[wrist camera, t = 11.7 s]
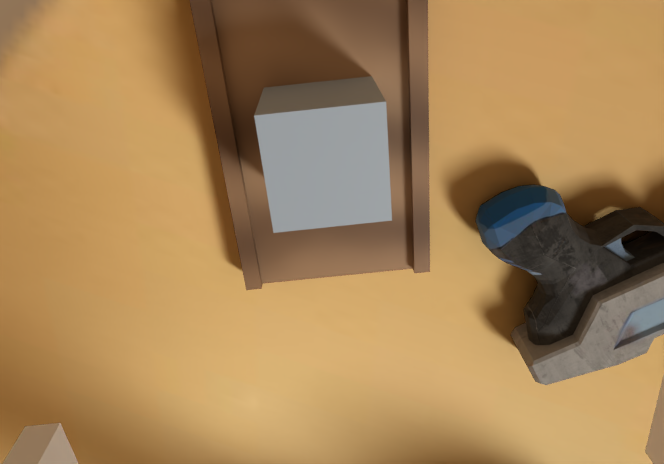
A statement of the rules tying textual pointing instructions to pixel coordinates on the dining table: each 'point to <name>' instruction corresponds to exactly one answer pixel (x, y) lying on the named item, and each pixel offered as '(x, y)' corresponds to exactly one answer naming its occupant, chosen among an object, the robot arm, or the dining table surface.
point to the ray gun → (578, 281)
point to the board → (306, 67)
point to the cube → (325, 153)
